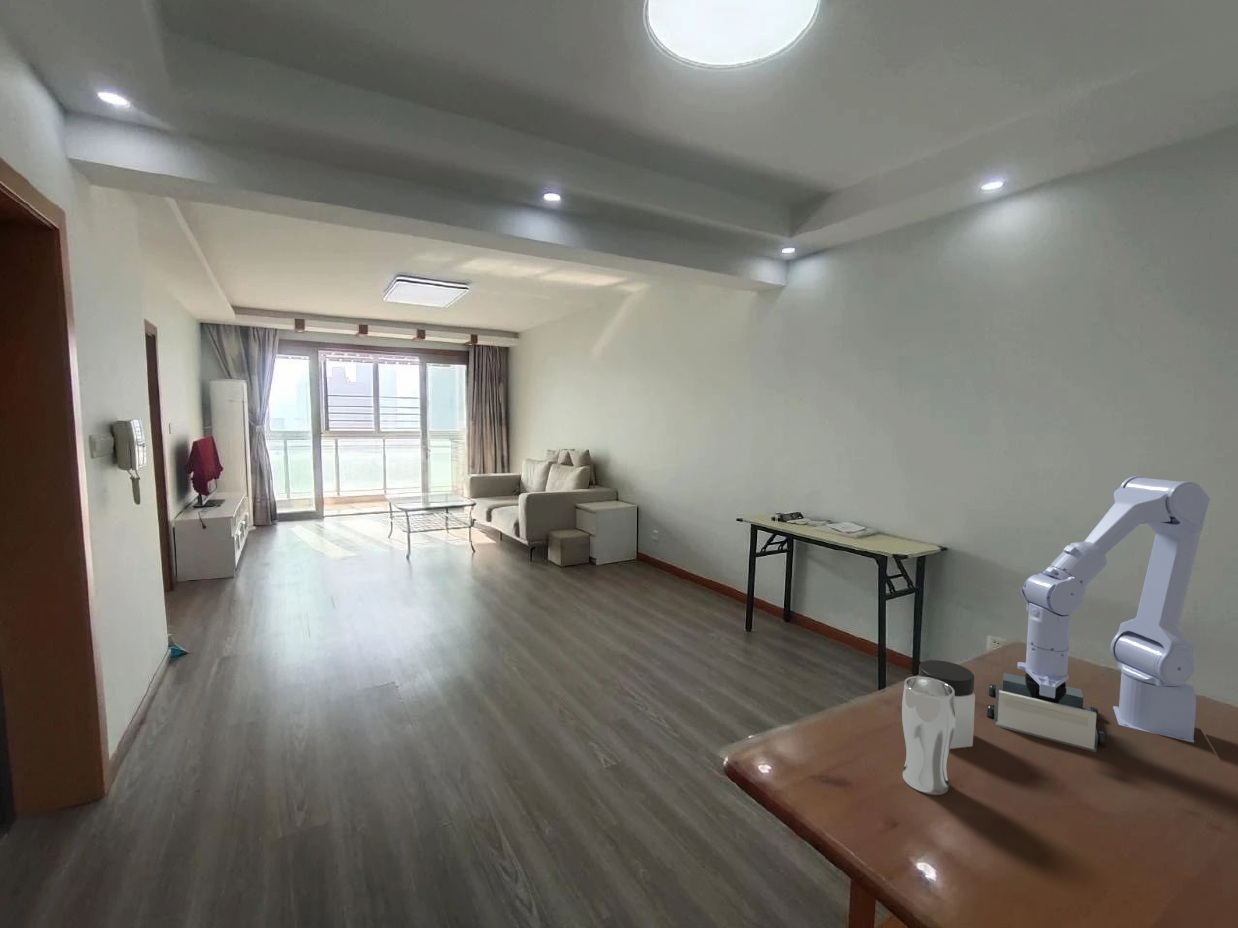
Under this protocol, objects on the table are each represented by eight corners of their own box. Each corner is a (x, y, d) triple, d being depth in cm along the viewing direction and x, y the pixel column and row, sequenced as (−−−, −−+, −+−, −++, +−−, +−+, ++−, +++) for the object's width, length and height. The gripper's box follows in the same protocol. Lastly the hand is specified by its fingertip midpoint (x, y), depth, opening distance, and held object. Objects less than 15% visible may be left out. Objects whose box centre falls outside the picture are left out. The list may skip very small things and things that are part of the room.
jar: (981, 739, 95) (984, 672, 94) (963, 758, 89) (966, 687, 88) (925, 718, 101) (928, 654, 100) (905, 734, 96) (908, 667, 95)
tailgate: (1095, 751, 91) (1098, 712, 90) (1096, 755, 90) (1099, 715, 89) (995, 725, 99) (997, 689, 98) (995, 728, 98) (997, 692, 97)
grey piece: (1094, 712, 103) (1096, 692, 103) (1105, 754, 90) (1107, 730, 90) (989, 688, 112) (990, 669, 112) (986, 723, 100) (987, 701, 99)
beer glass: (891, 766, 87) (894, 675, 86) (936, 767, 87) (940, 675, 86) (913, 796, 80) (917, 697, 79) (962, 797, 80) (966, 698, 79)
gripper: (1018, 626, 104) (1015, 696, 105) (1019, 653, 92) (1014, 731, 94) (1067, 635, 100) (1062, 707, 101) (1073, 664, 88) (1068, 745, 89)
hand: (1042, 719), depth 97 cm, fingers closed
